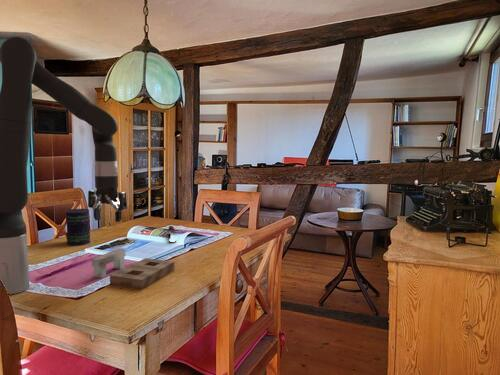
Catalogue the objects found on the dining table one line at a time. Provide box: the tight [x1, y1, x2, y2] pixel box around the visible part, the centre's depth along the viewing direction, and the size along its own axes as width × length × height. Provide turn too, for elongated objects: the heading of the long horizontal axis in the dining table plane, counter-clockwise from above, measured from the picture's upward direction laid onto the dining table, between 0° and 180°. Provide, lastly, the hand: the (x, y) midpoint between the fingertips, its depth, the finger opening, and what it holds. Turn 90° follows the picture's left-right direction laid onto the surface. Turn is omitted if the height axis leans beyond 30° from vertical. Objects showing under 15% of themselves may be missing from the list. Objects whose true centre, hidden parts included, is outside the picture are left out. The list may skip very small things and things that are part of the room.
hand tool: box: [168, 225, 175, 232], centre depth 187 cm, size 19×4×5 cm, turn 12°
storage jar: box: [65, 208, 91, 247], centre depth 175 cm, size 10×10×15 cm
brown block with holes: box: [109, 257, 175, 290], centre depth 133 cm, size 20×12×3 cm, turn 161°
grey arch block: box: [91, 248, 126, 279], centre depth 137 cm, size 14×3×6 cm, turn 161°
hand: (107, 220), depth 135 cm, fingers open, 8 cm apart
